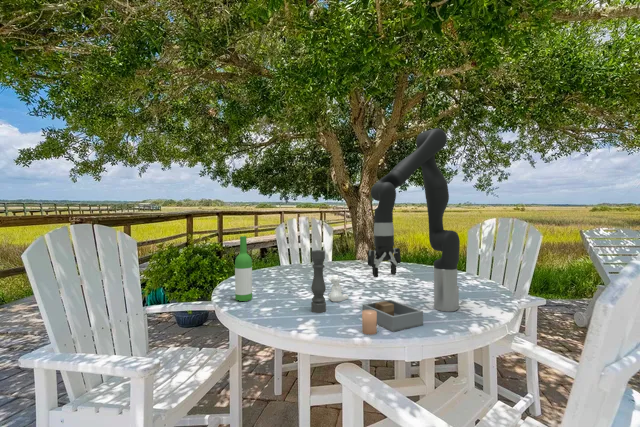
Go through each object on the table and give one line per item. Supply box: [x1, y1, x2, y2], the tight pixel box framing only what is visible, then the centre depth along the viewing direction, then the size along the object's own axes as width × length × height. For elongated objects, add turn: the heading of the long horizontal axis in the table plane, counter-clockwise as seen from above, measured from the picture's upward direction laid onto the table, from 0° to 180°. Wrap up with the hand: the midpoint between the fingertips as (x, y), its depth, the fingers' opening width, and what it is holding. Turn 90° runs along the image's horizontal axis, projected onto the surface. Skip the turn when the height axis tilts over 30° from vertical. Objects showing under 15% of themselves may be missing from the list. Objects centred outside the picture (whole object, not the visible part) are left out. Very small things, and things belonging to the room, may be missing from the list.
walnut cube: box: [376, 300, 394, 316], centre depth 129 cm, size 5×5×5 cm
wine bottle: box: [234, 235, 253, 302], centre depth 156 cm, size 8×8×30 cm
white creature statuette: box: [328, 274, 349, 303], centre depth 155 cm, size 10×9×12 cm
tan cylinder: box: [361, 310, 378, 336], centre depth 114 cm, size 5×5×7 cm
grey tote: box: [361, 299, 424, 333], centre depth 125 cm, size 14×18×5 cm
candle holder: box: [310, 249, 327, 314], centre depth 139 cm, size 6×6×25 cm
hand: (384, 275), depth 129 cm, fingers open, 8 cm apart
